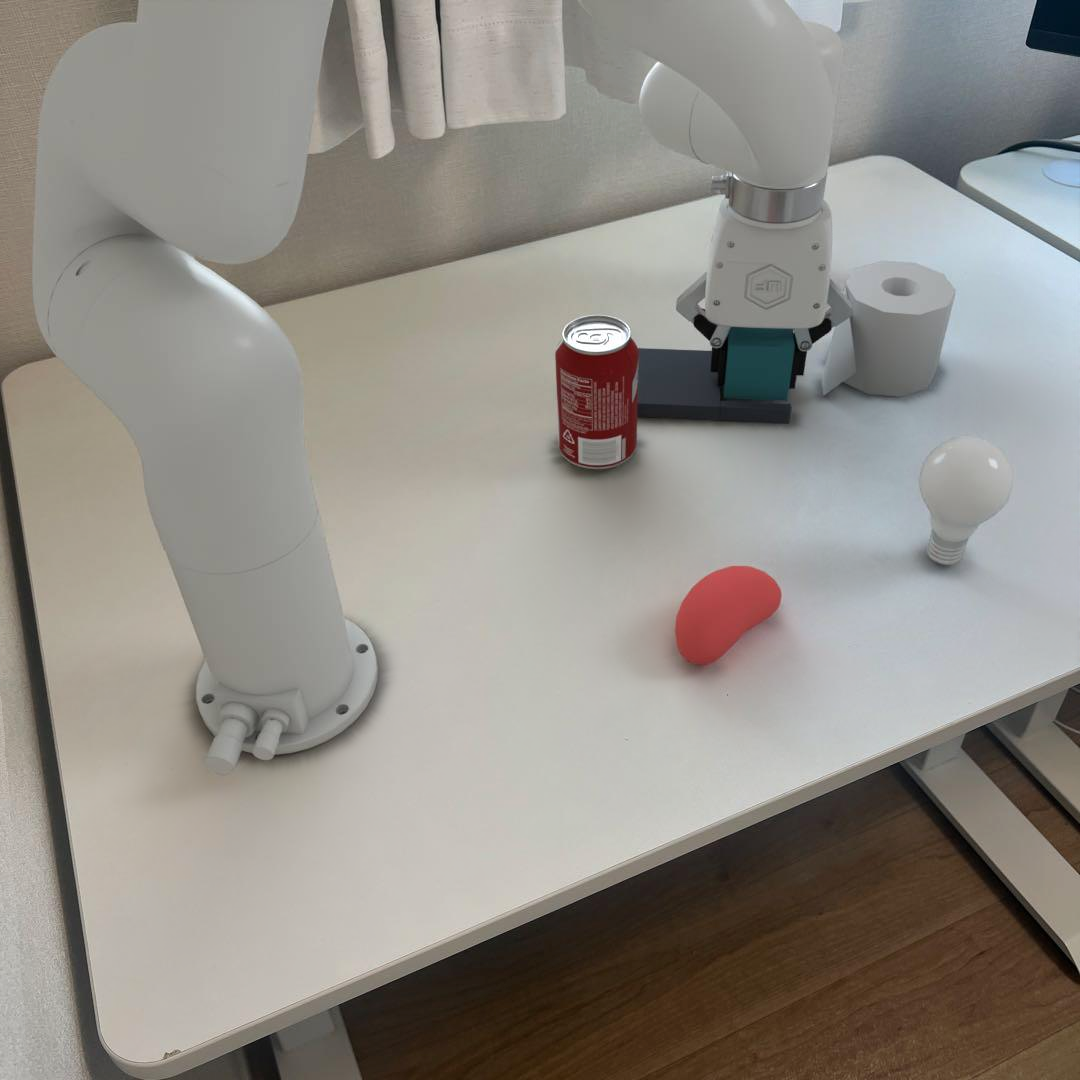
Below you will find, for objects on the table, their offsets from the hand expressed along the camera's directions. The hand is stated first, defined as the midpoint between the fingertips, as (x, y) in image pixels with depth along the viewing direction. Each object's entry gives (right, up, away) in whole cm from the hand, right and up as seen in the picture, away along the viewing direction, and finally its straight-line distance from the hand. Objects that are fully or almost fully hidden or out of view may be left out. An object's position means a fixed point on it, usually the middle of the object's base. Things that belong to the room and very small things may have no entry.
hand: (755, 377), depth 100 cm
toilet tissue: (+12, +1, +3) cm, 12 cm away
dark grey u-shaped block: (-6, -1, +2) cm, 6 cm away
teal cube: (0, 0, 0) cm, 0 cm away
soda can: (-15, -7, -4) cm, 17 cm away
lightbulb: (+11, -16, -16) cm, 25 cm away
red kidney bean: (-6, -22, -20) cm, 30 cm away
